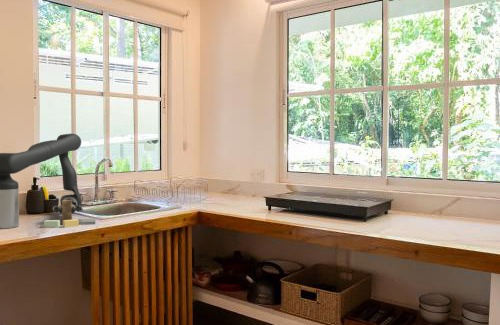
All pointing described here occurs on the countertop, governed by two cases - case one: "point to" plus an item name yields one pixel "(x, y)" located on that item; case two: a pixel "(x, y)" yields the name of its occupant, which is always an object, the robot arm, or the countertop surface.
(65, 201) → the walnut post
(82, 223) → the slate coaster
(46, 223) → the sage brick
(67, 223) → the mustard brick
